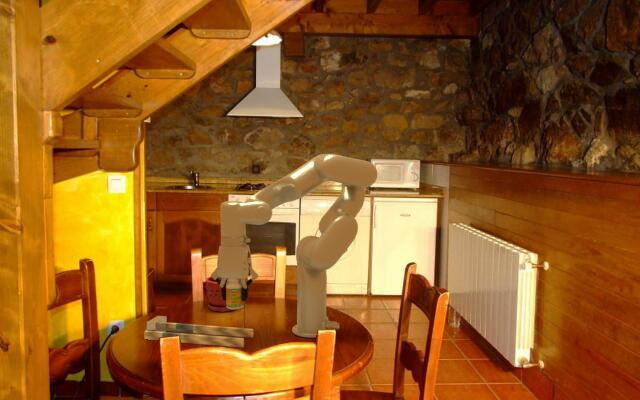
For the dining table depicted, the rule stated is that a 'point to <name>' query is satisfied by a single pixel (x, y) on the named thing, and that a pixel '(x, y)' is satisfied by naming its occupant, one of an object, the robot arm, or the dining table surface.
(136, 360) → the dining table surface
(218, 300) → the plant pot
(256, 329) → the dining table surface
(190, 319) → the dining table surface
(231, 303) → the supplement bottle
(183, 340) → the guide channel
